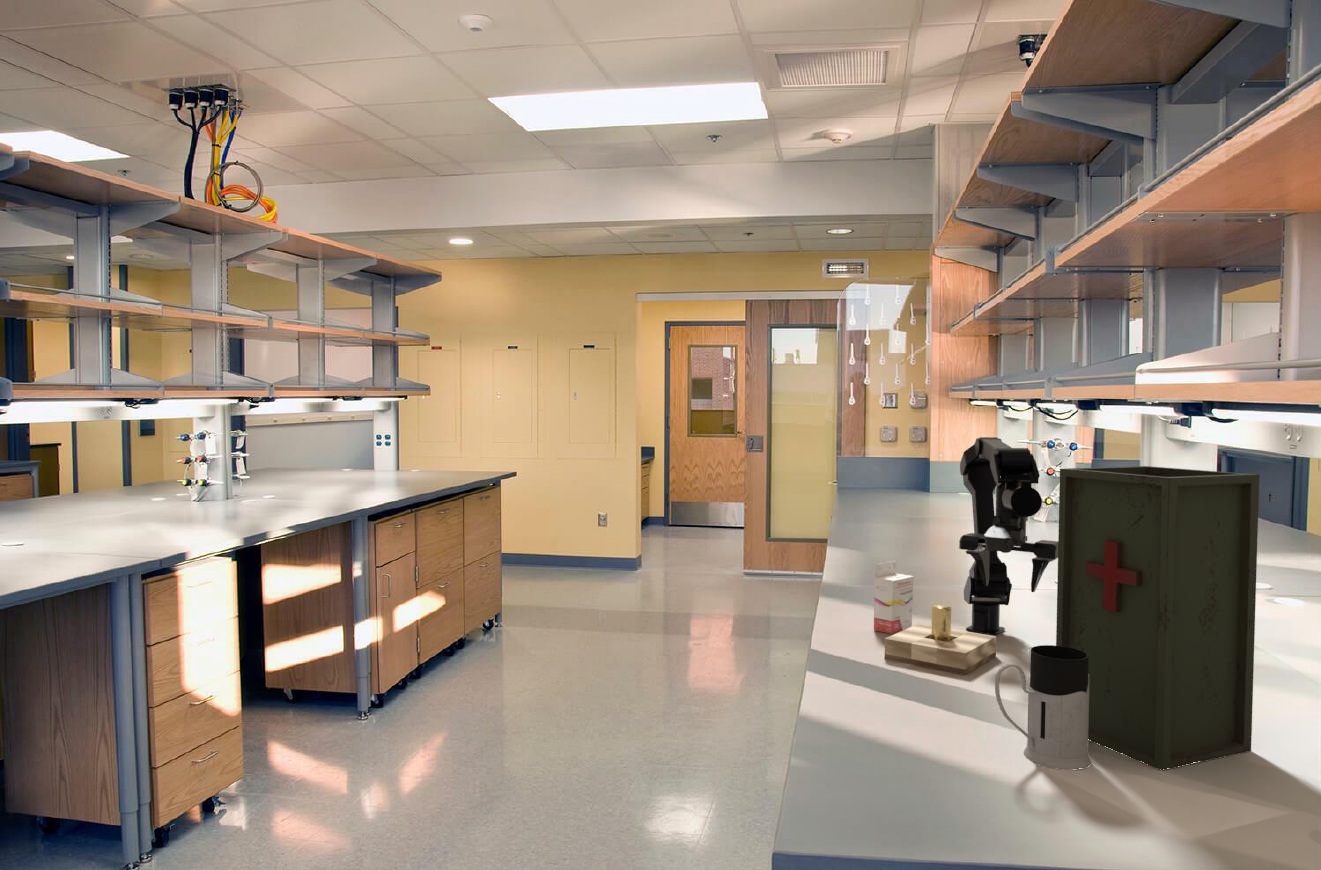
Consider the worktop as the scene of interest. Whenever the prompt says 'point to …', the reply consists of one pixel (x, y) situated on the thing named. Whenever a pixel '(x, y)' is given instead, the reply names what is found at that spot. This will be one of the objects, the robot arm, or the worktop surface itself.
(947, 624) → the pin
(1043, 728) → the glass holder
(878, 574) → the ink cartridge box
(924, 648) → the bore block
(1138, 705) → the first aid box
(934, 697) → the worktop surface
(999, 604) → the robot arm
